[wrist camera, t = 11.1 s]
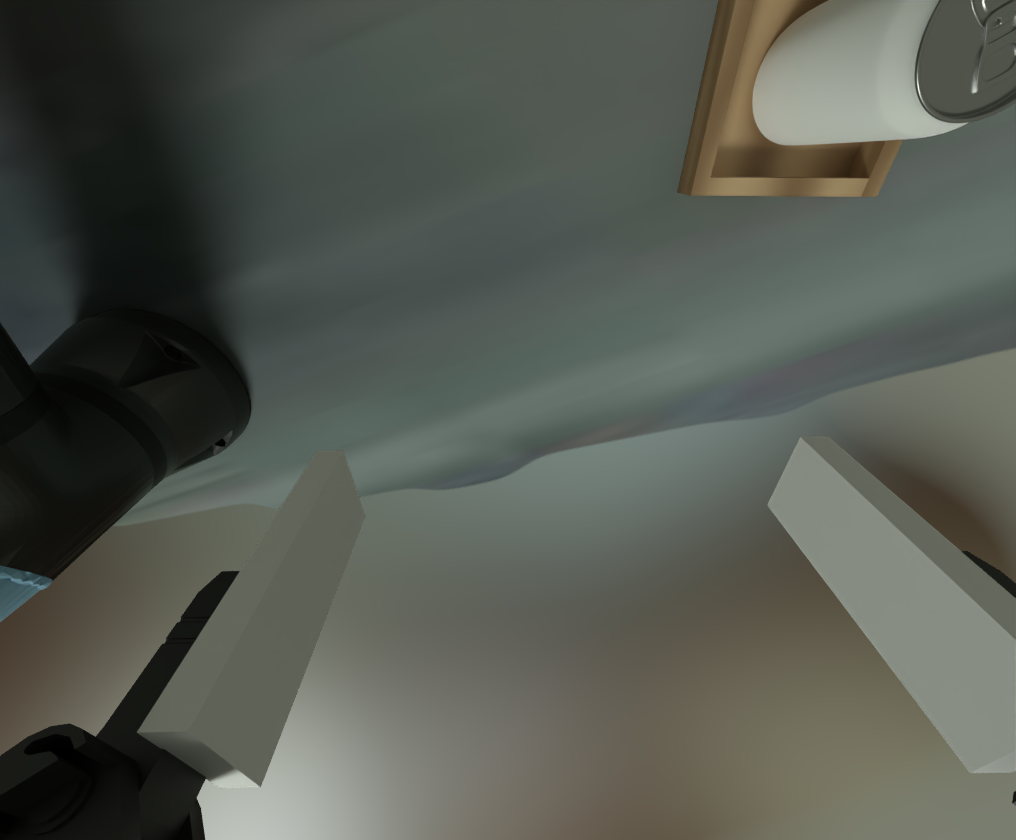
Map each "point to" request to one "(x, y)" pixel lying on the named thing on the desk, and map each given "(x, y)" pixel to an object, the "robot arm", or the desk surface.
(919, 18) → the can
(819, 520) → the robot arm
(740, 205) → the desk surface
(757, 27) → the caddy
